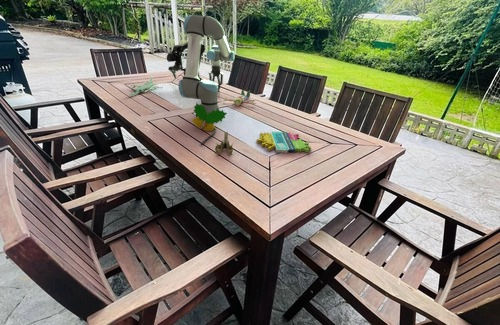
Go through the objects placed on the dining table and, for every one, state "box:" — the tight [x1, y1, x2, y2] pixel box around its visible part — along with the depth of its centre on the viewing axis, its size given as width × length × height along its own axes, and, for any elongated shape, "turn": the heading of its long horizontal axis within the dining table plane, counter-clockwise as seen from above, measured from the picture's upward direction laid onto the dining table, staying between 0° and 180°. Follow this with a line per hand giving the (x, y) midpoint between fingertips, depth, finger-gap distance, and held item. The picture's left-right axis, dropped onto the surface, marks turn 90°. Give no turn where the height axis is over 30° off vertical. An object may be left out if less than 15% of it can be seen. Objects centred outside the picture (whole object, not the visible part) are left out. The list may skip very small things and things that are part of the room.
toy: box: [223, 89, 257, 106], centre depth 219 cm, size 28×7×30 cm
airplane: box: [127, 74, 164, 98], centre depth 226 cm, size 38×31×10 cm
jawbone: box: [214, 131, 234, 156], centre depth 136 cm, size 9×15×10 cm
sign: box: [256, 131, 312, 154], centre depth 152 cm, size 26×2×30 cm
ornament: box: [191, 102, 228, 132], centre depth 162 cm, size 21×8×15 cm, turn 105°
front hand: (216, 91), depth 239 cm, fingers closed on block, 4 cm apart
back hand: (179, 79), depth 238 cm, fingers open, 9 cm apart
